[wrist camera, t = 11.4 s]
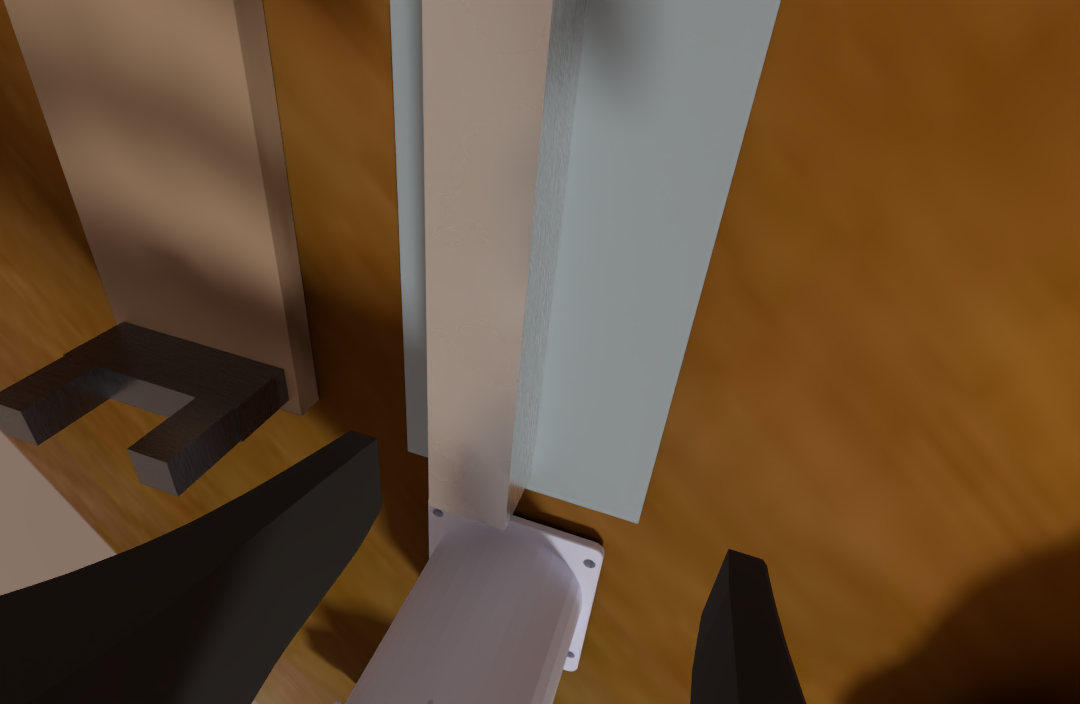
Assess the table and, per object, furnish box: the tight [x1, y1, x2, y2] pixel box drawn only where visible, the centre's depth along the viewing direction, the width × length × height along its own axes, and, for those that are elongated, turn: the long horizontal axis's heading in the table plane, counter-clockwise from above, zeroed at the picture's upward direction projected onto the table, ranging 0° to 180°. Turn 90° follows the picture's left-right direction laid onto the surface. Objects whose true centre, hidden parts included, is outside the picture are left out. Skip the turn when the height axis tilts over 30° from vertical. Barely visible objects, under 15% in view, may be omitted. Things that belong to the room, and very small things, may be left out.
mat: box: [390, 0, 781, 524], centre depth 19 cm, size 24×10×1 cm, turn 174°
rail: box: [422, 0, 588, 531], centre depth 17 cm, size 22×3×3 cm, turn 174°
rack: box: [0, 0, 319, 496], centre depth 19 cm, size 22×9×7 cm, turn 174°
